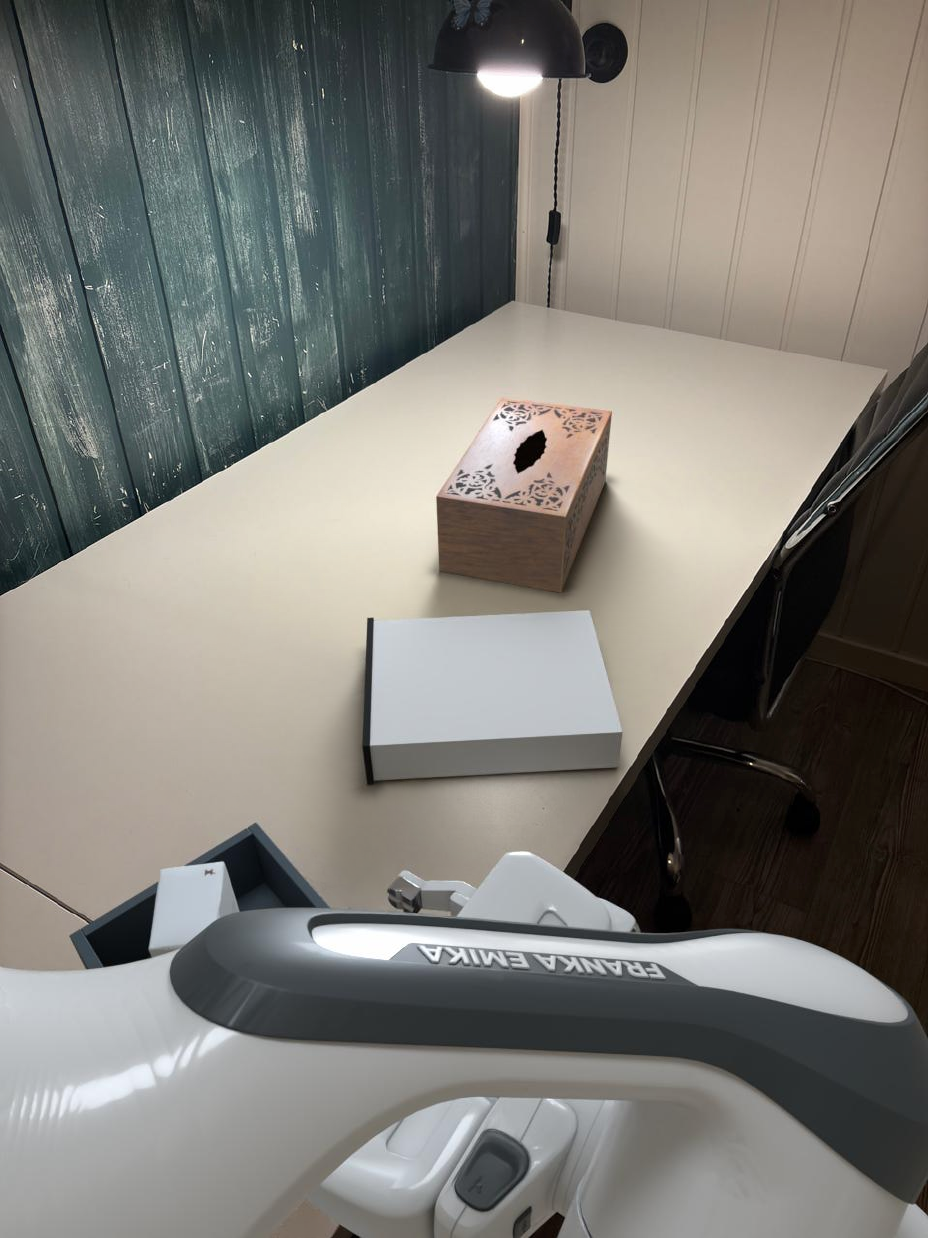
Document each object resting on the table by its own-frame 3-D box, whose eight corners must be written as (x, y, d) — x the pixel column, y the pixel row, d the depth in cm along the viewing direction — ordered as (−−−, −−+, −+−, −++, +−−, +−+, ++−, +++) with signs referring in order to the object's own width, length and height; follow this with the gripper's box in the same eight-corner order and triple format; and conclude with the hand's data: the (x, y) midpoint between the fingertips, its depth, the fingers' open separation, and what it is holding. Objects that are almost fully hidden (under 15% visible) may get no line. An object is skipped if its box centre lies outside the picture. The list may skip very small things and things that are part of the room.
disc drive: (369, 654, 95) (365, 617, 92) (586, 644, 95) (589, 606, 92) (365, 785, 81) (360, 746, 78) (618, 771, 82) (623, 732, 79)
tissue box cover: (501, 465, 125) (501, 397, 119) (605, 480, 122) (611, 411, 115) (439, 570, 106) (436, 496, 100) (560, 592, 103) (565, 516, 96)
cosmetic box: (196, 966, 67) (159, 865, 59) (255, 959, 67) (226, 858, 60) (187, 1048, 62) (145, 950, 55) (250, 1040, 62) (218, 941, 55)
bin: (191, 1152, 58) (168, 1103, 53) (95, 988, 66) (68, 935, 62) (377, 1006, 65) (370, 953, 61) (269, 875, 74) (256, 821, 69)
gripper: (665, 895, 48) (449, 786, 54) (441, 1278, 35) (191, 1076, 41) (652, 961, 52) (452, 852, 58) (446, 1328, 39) (217, 1137, 45)
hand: (342, 947), depth 50 cm, fingers open, 8 cm apart
